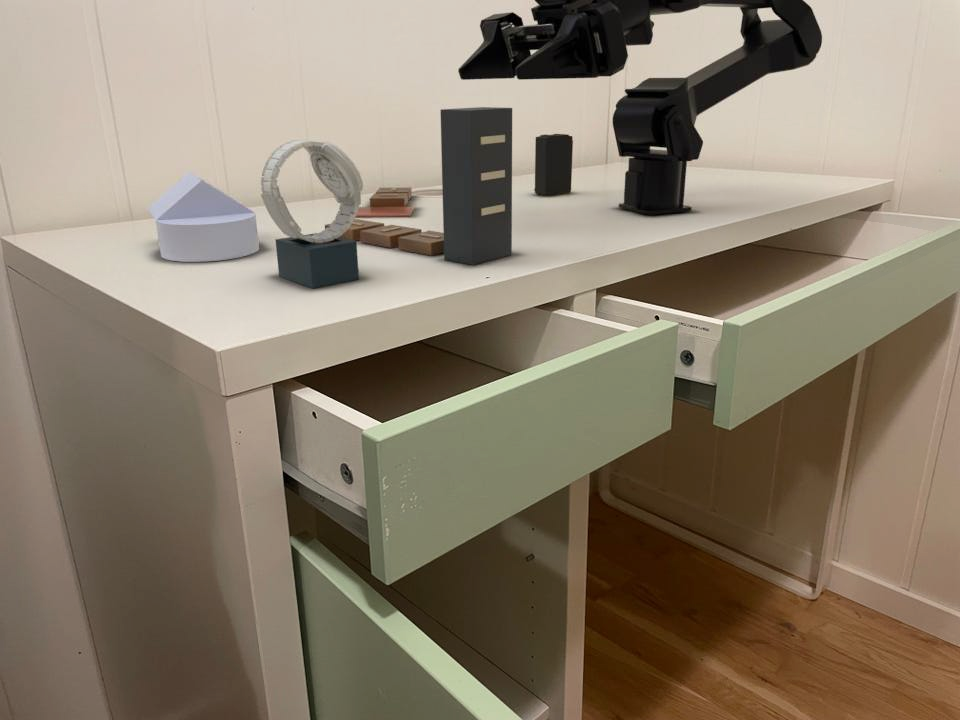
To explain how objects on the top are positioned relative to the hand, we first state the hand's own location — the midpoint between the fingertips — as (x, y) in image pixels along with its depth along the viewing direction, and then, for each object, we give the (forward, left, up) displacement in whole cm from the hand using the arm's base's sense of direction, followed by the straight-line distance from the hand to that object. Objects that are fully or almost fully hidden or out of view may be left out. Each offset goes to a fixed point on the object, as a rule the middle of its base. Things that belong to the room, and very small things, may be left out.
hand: (487, 74), depth 76 cm
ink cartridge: (-21, -23, -16) cm, 35 cm away
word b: (+3, -24, -16) cm, 29 cm away
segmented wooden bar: (+10, -1, -16) cm, 19 cm away
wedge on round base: (+27, -7, -16) cm, 32 cm away
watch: (+20, +10, -16) cm, 28 cm away
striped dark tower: (+5, +9, -16) cm, 19 cm away
